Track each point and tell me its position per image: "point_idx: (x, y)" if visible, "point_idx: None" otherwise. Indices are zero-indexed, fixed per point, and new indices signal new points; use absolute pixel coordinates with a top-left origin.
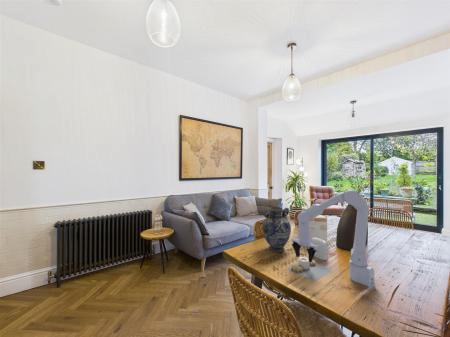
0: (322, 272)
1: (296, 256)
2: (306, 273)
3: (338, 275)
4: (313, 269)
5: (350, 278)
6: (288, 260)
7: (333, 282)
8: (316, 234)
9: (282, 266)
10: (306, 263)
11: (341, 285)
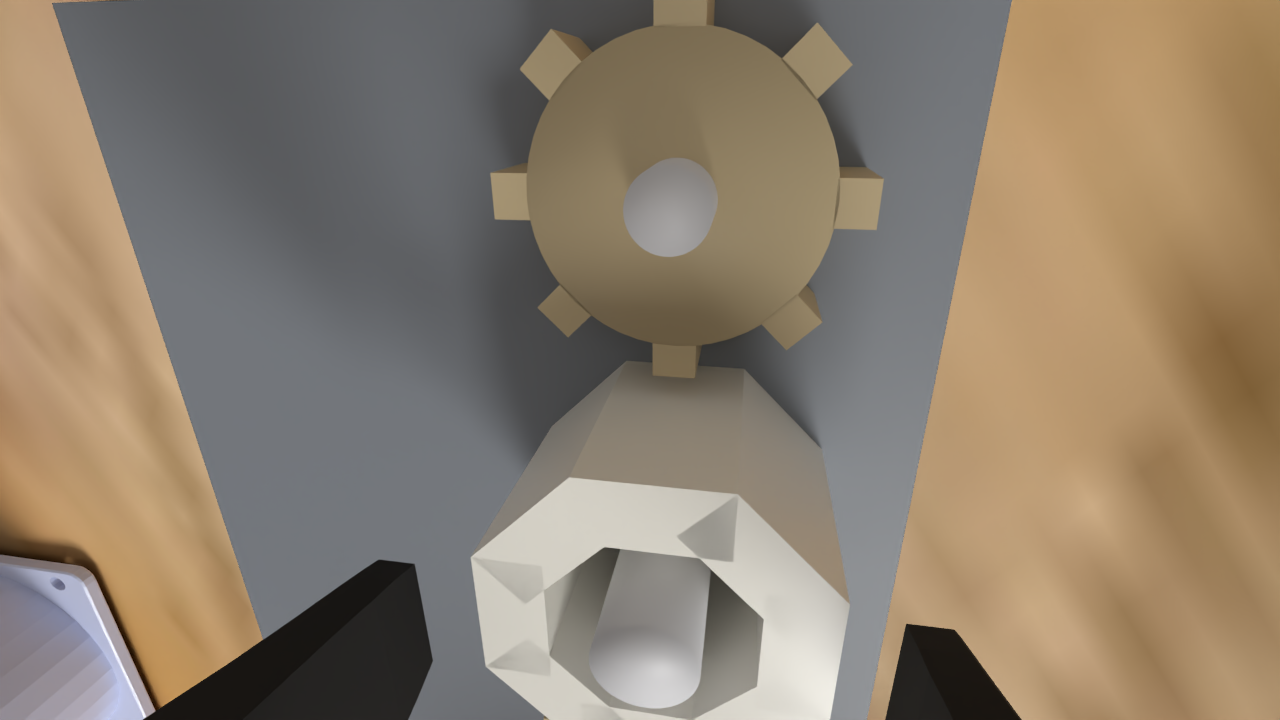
0: (303, 518)
1: (953, 639)
2: (408, 202)
3: (251, 645)
4: (468, 508)
5: (16, 624)
6: (1237, 583)
7: (110, 400)
8: None
9: (1241, 131)
10: (513, 500)
11: (13, 406)
